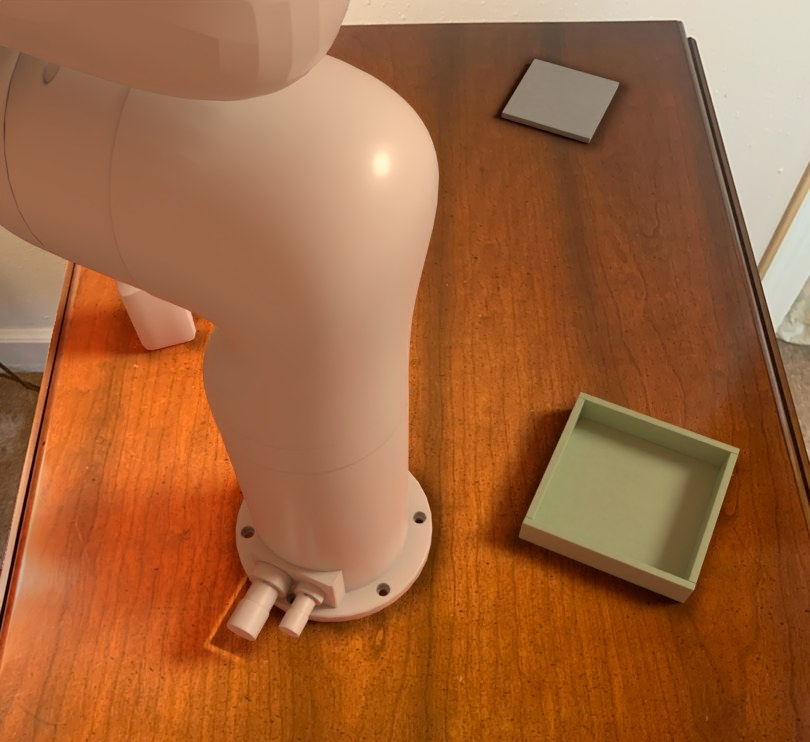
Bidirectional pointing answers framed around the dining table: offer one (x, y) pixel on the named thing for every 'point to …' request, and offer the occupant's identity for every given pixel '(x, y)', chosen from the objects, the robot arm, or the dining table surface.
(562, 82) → the mat
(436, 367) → the dining table surface
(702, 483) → the tray
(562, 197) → the dining table surface
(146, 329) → the pepper shaker
